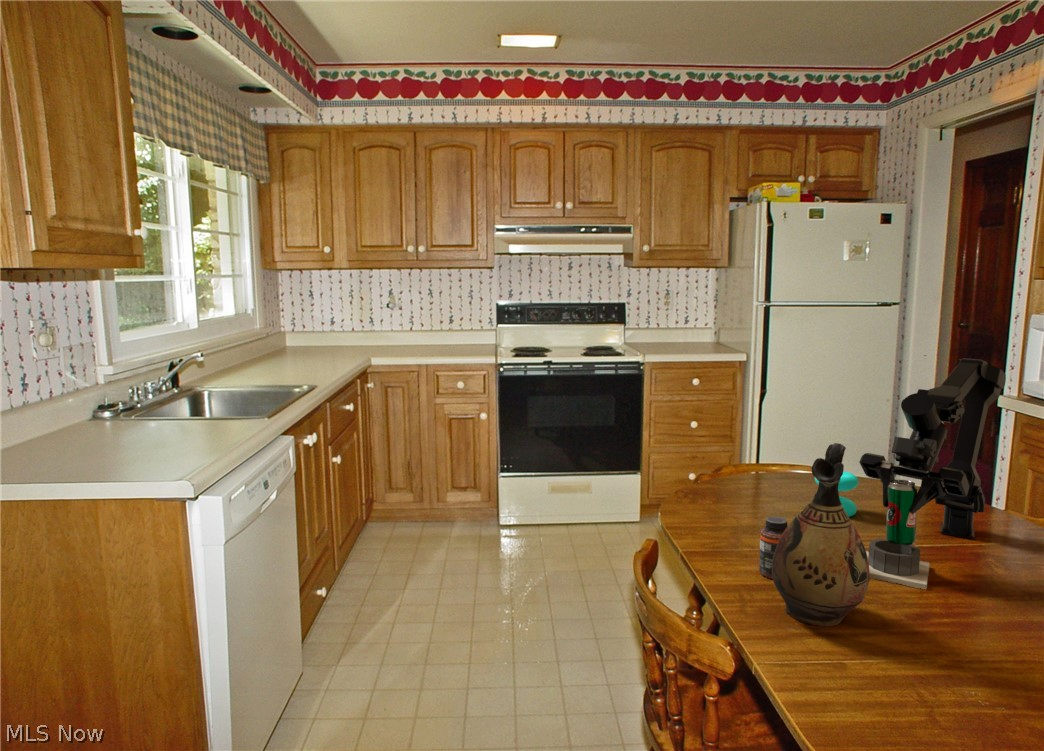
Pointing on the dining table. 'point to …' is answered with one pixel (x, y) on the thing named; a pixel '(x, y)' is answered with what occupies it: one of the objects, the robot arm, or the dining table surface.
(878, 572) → the collar socket
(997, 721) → the dining table surface
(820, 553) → the ceramic jug
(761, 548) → the supplement bottle
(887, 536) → the soda can
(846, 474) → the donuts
